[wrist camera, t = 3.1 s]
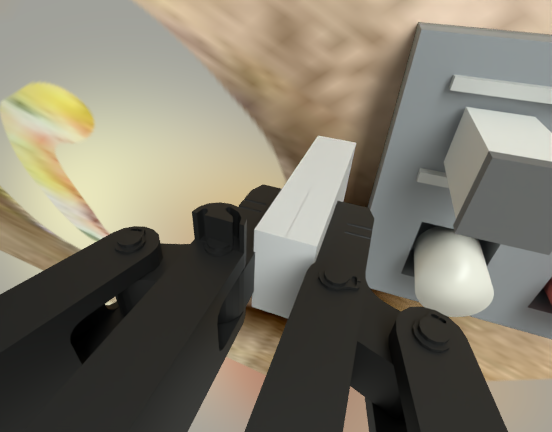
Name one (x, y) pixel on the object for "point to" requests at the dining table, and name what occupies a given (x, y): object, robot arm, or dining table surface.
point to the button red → (549, 290)
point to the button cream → (451, 273)
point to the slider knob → (502, 179)
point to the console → (434, 147)
